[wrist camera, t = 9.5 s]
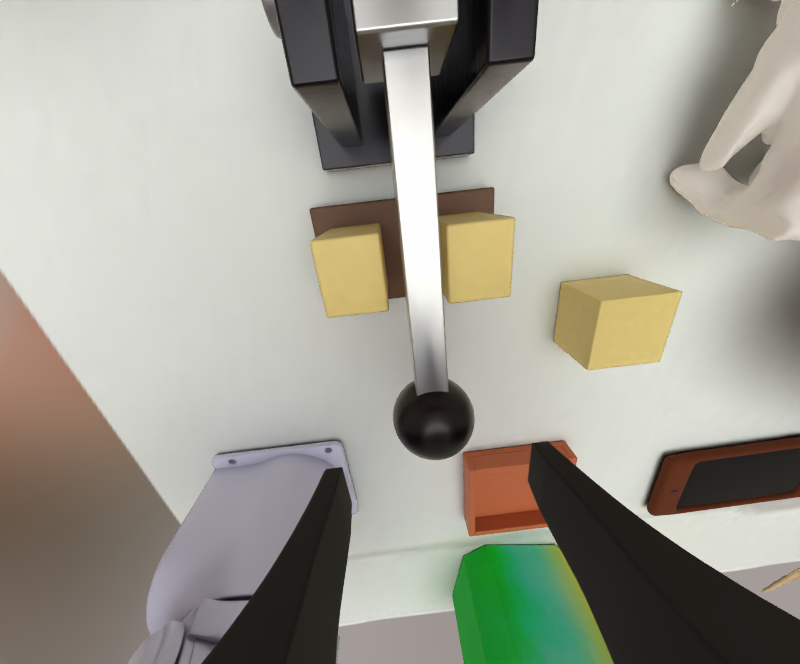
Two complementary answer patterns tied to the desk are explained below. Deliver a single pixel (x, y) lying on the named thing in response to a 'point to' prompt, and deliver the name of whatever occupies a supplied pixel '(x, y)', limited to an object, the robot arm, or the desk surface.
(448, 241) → the butter
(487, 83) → the cutter bracket
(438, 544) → the desk surface
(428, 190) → the lever
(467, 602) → the green octagonal canister
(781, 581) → the tool
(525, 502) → the tray
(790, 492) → the smartphone
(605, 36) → the desk surface
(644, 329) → the butter pat
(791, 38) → the white lumpy statuette
